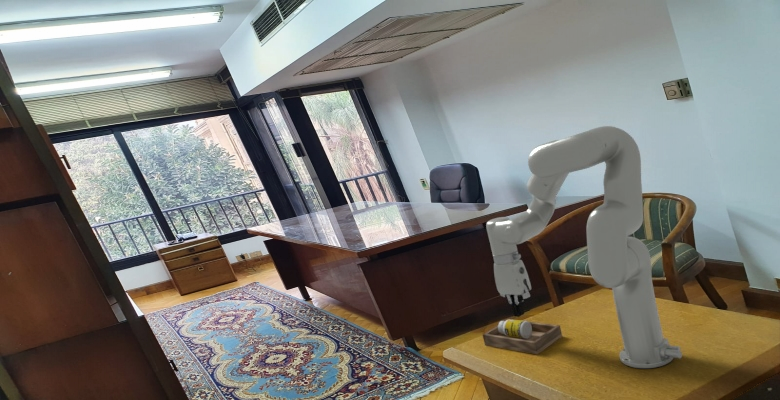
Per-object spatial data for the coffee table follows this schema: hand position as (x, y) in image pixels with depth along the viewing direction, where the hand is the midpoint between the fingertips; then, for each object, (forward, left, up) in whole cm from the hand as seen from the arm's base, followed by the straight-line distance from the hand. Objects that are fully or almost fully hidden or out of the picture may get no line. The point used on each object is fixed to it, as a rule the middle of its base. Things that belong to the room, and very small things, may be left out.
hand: (519, 314), depth 163 cm
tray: (+1, 0, -9) cm, 9 cm away
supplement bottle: (-2, 0, -5) cm, 5 cm away
